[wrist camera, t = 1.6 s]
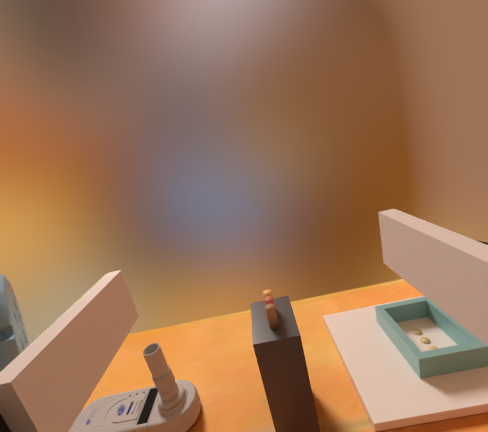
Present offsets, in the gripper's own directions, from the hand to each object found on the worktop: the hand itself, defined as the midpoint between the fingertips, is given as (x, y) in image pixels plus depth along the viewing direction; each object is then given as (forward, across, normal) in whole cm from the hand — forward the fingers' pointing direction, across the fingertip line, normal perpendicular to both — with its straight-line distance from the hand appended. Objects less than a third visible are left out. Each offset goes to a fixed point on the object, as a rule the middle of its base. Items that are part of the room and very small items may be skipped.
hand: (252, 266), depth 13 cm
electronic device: (+12, -18, -22) cm, 31 cm away
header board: (+14, +17, -22) cm, 31 cm away
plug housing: (+10, 0, -22) cm, 24 cm away
